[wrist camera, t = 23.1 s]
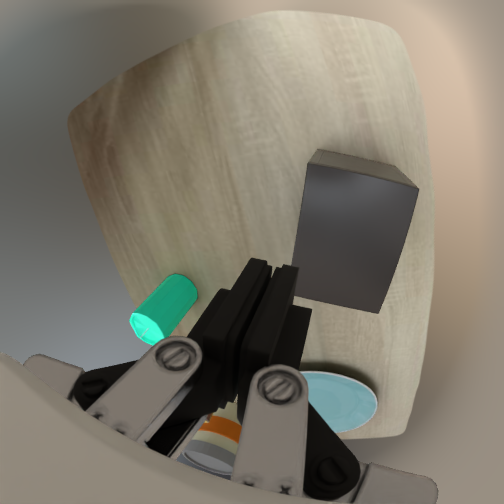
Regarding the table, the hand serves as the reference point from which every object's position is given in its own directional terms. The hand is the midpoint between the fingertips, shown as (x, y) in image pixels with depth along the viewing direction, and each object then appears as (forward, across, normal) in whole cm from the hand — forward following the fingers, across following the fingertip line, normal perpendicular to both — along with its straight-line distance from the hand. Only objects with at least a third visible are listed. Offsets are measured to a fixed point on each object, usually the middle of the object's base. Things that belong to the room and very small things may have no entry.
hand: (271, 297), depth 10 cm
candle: (+24, +18, +22) cm, 37 cm away
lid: (+14, -4, +4) cm, 15 cm away
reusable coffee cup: (+24, +9, +55) cm, 60 cm away
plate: (+24, -8, +40) cm, 48 cm away
